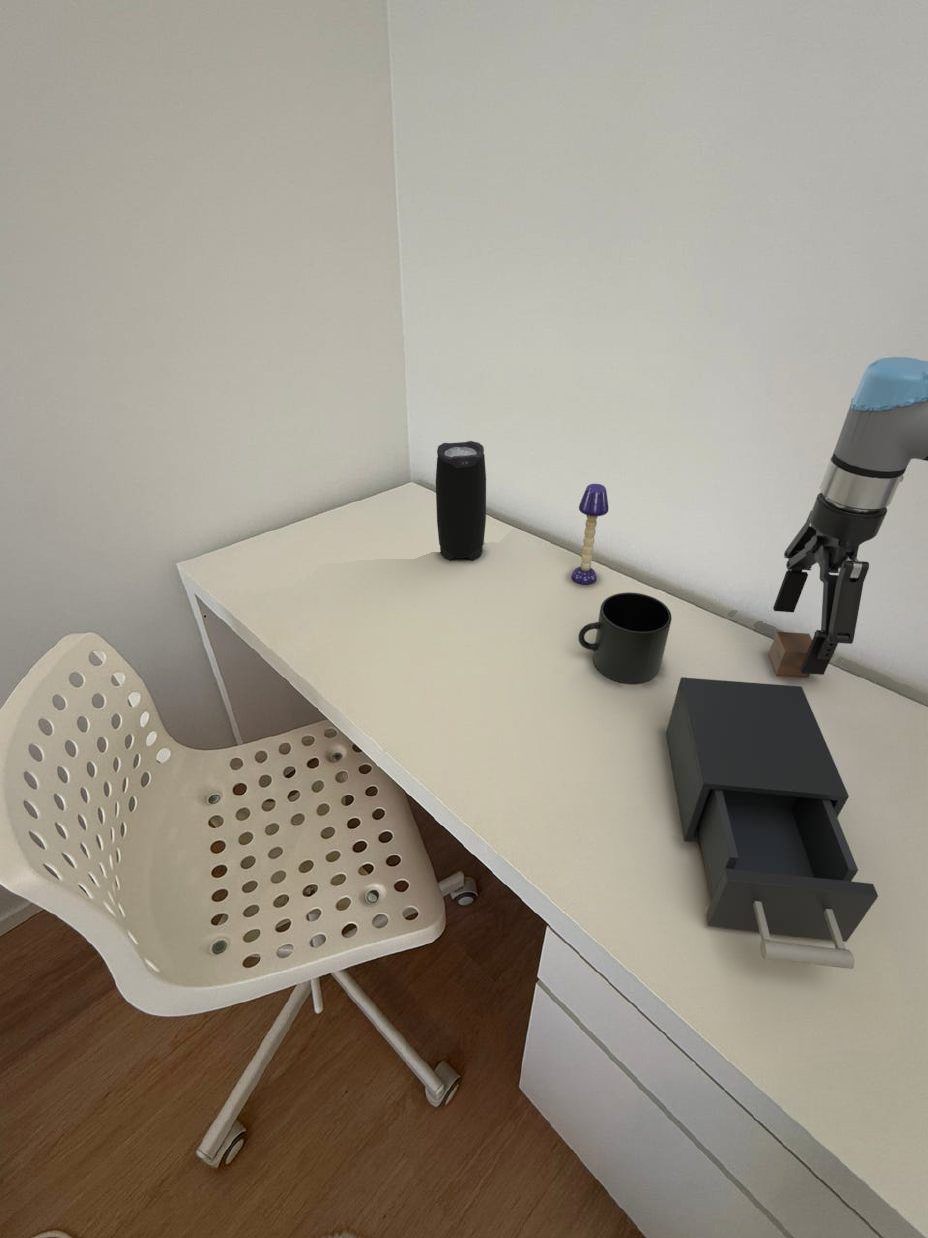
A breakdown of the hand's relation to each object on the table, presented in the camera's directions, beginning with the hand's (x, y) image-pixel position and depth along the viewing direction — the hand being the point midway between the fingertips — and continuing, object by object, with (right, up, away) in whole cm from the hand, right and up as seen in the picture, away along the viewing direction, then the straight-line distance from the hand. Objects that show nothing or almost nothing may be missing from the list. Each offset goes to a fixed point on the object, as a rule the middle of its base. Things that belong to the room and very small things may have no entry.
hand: (796, 639), depth 89 cm
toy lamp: (-25, +10, +22) cm, 35 cm away
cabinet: (-14, -17, -14) cm, 26 cm away
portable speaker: (-46, +15, +29) cm, 56 cm away
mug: (-24, -4, +4) cm, 24 cm away
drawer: (-16, -24, -25) cm, 38 cm away
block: (0, -4, +3) cm, 5 cm away
